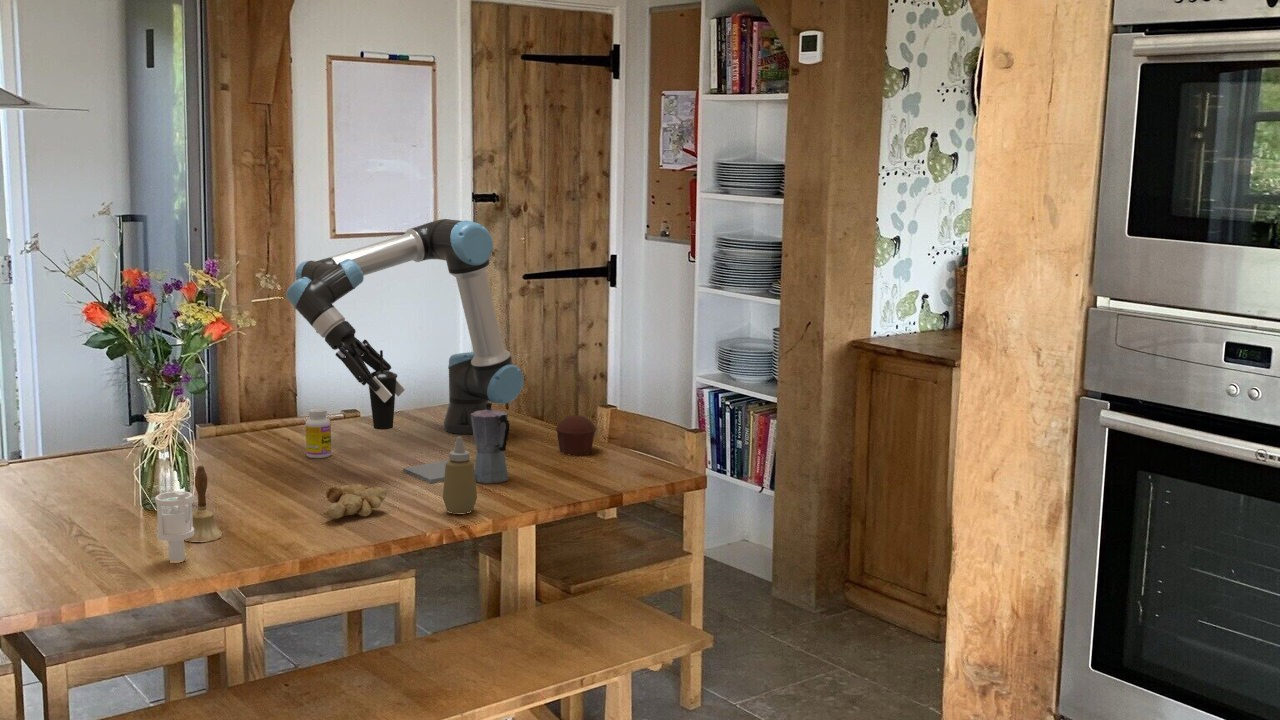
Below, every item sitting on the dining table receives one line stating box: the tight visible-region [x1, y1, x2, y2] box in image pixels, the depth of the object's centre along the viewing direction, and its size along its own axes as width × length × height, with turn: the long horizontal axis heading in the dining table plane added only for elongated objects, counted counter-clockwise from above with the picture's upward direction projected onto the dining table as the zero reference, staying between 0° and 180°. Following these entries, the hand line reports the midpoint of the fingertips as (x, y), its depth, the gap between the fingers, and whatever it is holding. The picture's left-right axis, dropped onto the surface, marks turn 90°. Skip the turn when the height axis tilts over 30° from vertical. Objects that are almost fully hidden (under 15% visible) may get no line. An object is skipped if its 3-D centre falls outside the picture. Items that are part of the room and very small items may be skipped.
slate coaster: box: [402, 459, 475, 484], centre depth 326 cm, size 14×14×1 cm
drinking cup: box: [368, 349, 398, 431], centre depth 318 cm, size 8×8×20 cm
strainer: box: [154, 490, 194, 561], centre depth 256 cm, size 7×7×15 cm
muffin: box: [555, 414, 597, 456], centre depth 350 cm, size 12×11×10 cm
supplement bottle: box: [305, 407, 332, 459], centre depth 340 cm, size 7×7×13 cm
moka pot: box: [471, 402, 510, 484], centre depth 318 cm, size 10×15×20 cm, turn 45°
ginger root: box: [323, 483, 388, 520], centre depth 291 cm, size 16×16×8 cm
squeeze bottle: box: [442, 436, 478, 513], centre depth 292 cm, size 8×8×18 cm
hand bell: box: [186, 465, 223, 541], centre depth 271 cm, size 8×8×16 cm
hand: (395, 395), depth 318 cm, fingers closed on drinking cup, 7 cm apart
